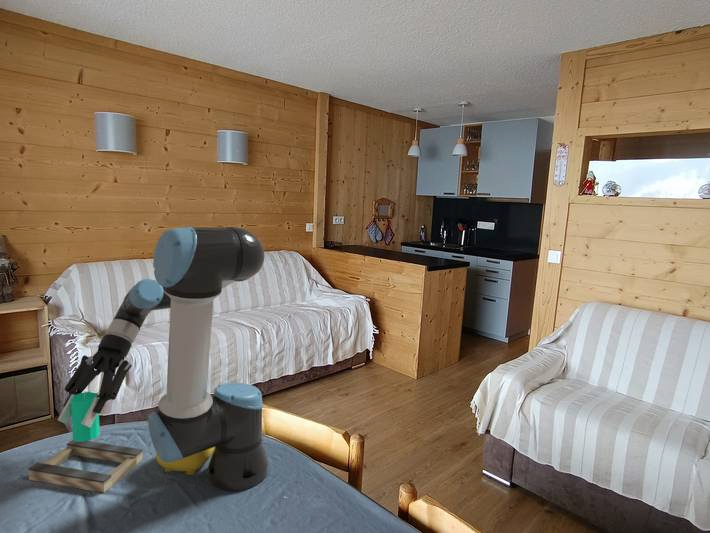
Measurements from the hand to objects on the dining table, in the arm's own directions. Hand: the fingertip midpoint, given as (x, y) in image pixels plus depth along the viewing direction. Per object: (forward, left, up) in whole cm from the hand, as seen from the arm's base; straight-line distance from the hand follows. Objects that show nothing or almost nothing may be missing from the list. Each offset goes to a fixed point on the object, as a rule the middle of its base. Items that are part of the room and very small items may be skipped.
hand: (74, 423), depth 108 cm
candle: (0, -4, -5) cm, 6 cm away
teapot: (-23, -12, -14) cm, 30 cm away
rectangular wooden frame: (0, -3, -14) cm, 15 cm away
